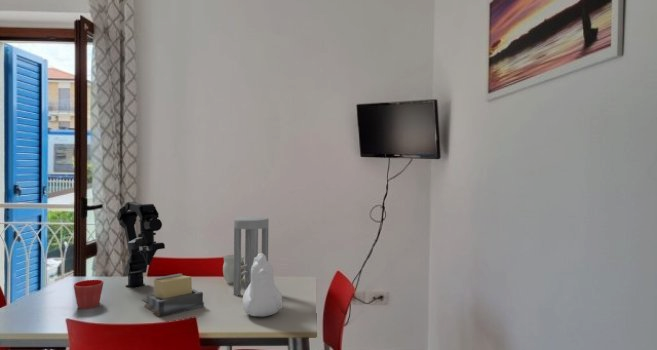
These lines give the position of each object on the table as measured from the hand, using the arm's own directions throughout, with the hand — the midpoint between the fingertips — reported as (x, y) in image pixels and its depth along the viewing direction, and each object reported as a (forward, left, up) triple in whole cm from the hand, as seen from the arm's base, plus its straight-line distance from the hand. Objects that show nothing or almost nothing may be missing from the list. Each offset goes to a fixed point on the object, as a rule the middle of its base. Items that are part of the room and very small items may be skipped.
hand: (148, 265), depth 192 cm
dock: (+18, -8, -14) cm, 24 cm away
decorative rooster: (+61, -1, -13) cm, 62 cm away
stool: (+44, +18, -13) cm, 49 cm away
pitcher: (+26, +32, -13) cm, 43 cm away
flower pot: (-9, -23, -13) cm, 28 cm away
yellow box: (+24, -11, -10) cm, 29 cm away
